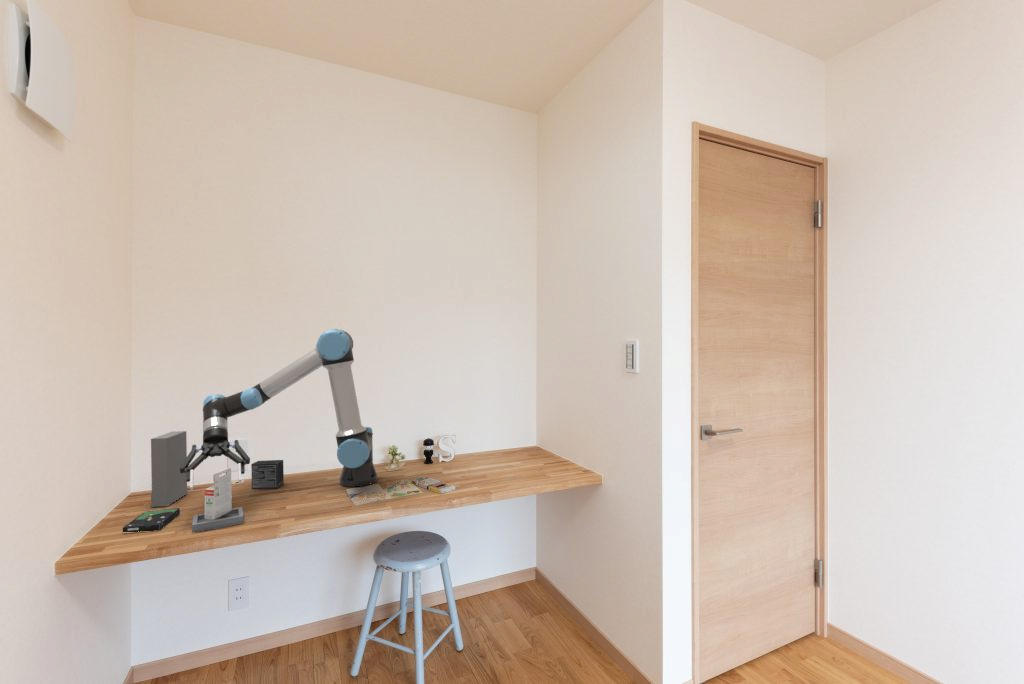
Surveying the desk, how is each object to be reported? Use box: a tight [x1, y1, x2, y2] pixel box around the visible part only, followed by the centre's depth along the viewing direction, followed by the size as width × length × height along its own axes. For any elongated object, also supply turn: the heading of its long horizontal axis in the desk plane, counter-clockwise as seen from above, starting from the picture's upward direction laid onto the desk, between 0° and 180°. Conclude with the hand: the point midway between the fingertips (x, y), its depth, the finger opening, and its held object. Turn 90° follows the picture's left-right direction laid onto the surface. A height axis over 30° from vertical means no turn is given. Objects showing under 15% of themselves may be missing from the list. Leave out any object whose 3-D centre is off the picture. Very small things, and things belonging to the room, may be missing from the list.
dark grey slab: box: [149, 430, 189, 508], centre depth 175 cm, size 14×6×25 cm, turn 9°
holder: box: [191, 506, 244, 534], centre depth 153 cm, size 14×10×2 cm
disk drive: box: [122, 507, 181, 533], centre depth 154 cm, size 10×3×15 cm
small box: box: [250, 459, 285, 490], centre depth 191 cm, size 11×6×10 cm, turn 94°
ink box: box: [204, 468, 233, 520], centre depth 153 cm, size 4×8×15 cm, turn 172°
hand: (216, 485), depth 155 cm, fingers open, 13 cm apart
